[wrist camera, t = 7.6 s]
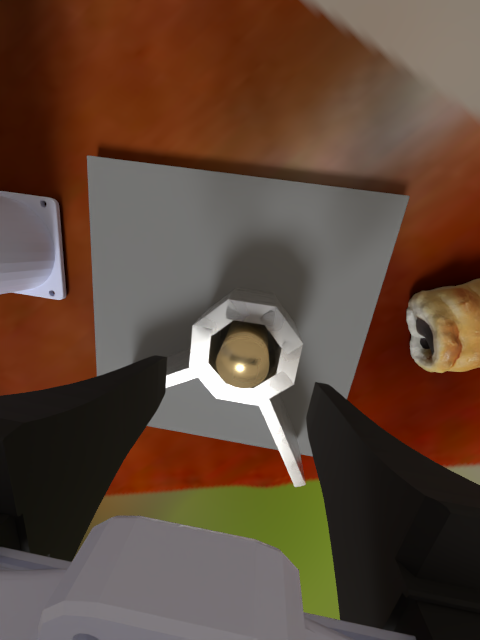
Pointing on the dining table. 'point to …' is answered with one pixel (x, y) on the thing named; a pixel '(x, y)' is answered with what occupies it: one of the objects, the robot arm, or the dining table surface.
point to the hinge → (281, 364)
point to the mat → (233, 277)
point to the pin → (244, 355)
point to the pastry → (446, 327)
